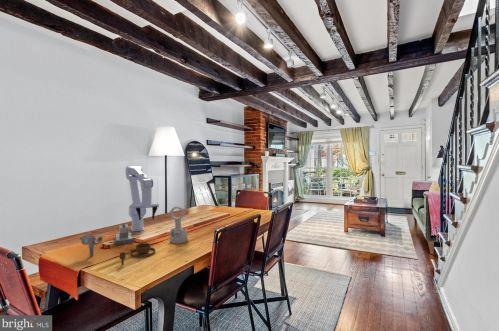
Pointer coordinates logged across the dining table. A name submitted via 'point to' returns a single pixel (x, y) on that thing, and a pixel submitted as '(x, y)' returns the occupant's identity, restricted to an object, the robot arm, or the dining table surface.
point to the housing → (123, 231)
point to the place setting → (139, 251)
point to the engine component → (177, 228)
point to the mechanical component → (90, 242)
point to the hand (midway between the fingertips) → (146, 219)
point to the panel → (123, 239)
